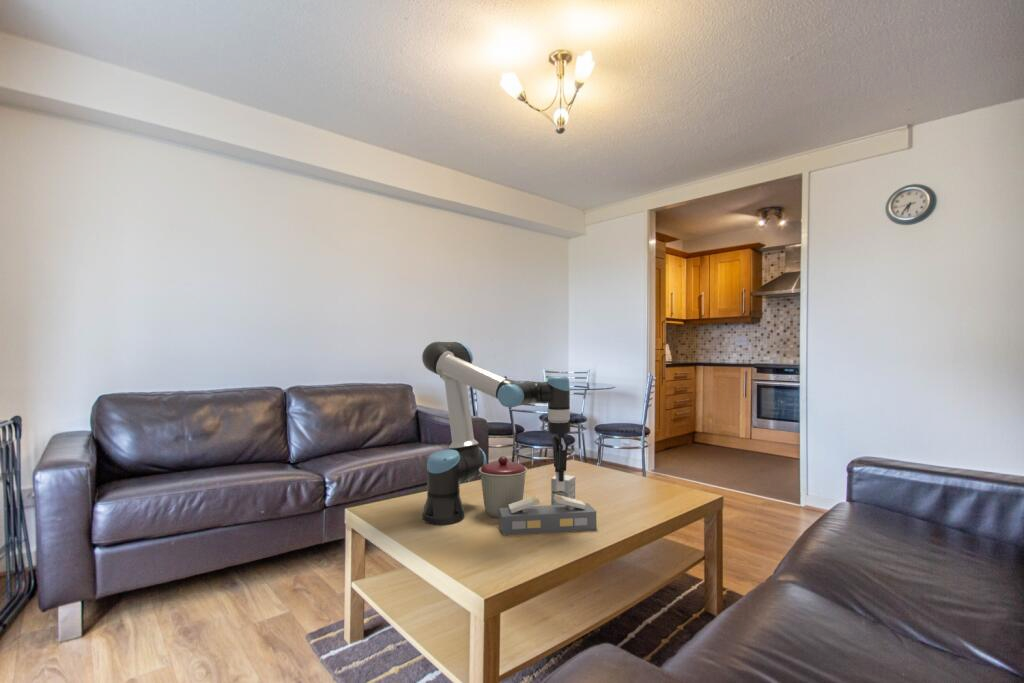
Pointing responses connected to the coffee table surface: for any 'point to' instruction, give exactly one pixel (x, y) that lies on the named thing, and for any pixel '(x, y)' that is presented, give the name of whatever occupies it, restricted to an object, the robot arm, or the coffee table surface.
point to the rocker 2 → (569, 501)
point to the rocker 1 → (524, 504)
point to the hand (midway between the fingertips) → (560, 490)
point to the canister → (502, 484)
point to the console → (547, 519)
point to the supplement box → (568, 491)
